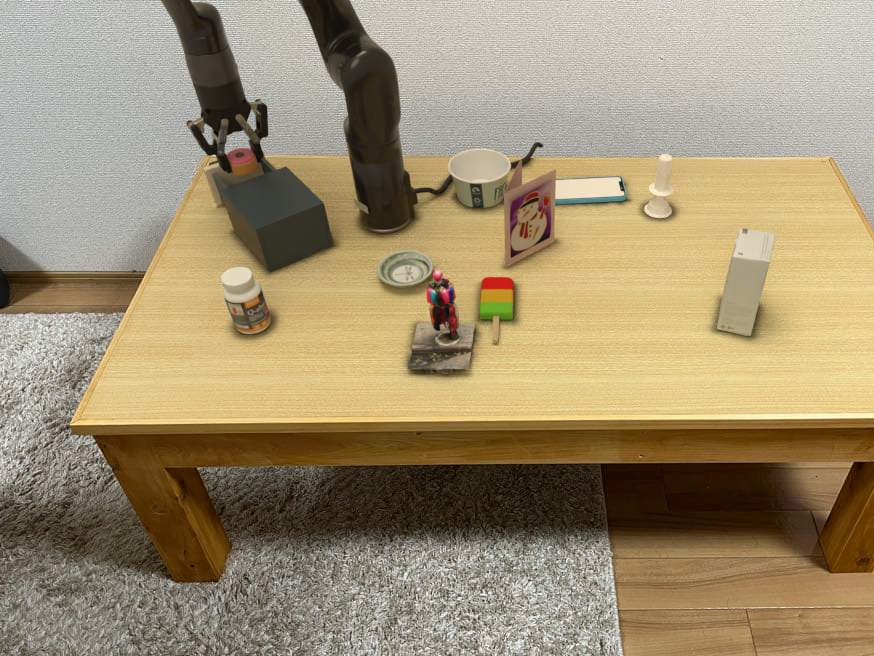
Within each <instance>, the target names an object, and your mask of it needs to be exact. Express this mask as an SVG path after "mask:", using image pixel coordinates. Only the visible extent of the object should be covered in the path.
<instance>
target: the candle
mask: <svg viewBox="0 0 874 656" xmlns="http://www.w3.org/2000/svg"><path fill="white" fill-rule="evenodd" d="M672 171H673V156H672V155H671V154H669V153H662V154H660V155H659V156H658V160H657V164H656V168H655V172H656V175H655V181H654V182H653V183H651V184H649V186H648V191H649V193H651V194H652V195H654V197H653V198H651V199H650V200H649V202H648V203H647V204H645V205H644V207H643V211H644V213H645V214H646V215H647V216H649V217H651V218H653V219H665V218H667V217H669V216H671V215H672V212H673V209H672V207H671V206H670V203H669V201H668V200H667V198H666V197H669V196H671V195H673V193H674V192H675V189H674V187H673V186H672V185H671V184H670V180H671V174H672Z"/></svg>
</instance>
